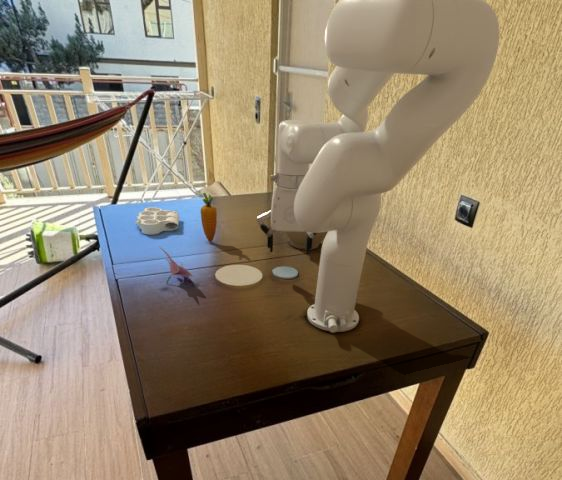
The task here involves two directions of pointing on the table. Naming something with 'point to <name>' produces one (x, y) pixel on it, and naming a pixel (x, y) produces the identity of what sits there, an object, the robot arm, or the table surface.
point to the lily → (177, 269)
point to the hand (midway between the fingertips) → (289, 250)
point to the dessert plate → (238, 275)
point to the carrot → (208, 218)
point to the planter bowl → (304, 239)
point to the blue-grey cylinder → (285, 272)
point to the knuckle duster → (157, 220)
